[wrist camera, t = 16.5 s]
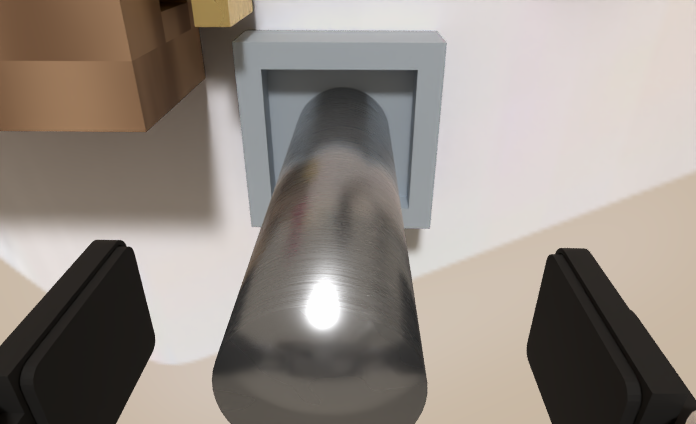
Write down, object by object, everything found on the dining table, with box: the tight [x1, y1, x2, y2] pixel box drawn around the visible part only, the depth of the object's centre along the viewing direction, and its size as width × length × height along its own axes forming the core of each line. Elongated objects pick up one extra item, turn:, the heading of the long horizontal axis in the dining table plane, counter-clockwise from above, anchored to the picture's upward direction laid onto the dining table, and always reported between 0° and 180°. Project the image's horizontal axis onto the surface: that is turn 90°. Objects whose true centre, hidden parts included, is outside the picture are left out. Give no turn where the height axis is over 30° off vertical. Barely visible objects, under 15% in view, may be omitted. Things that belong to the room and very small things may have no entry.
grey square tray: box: [232, 30, 447, 229], centre depth 22 cm, size 8×8×3 cm
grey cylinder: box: [212, 87, 427, 424], centre depth 15 cm, size 4×4×14 cm
